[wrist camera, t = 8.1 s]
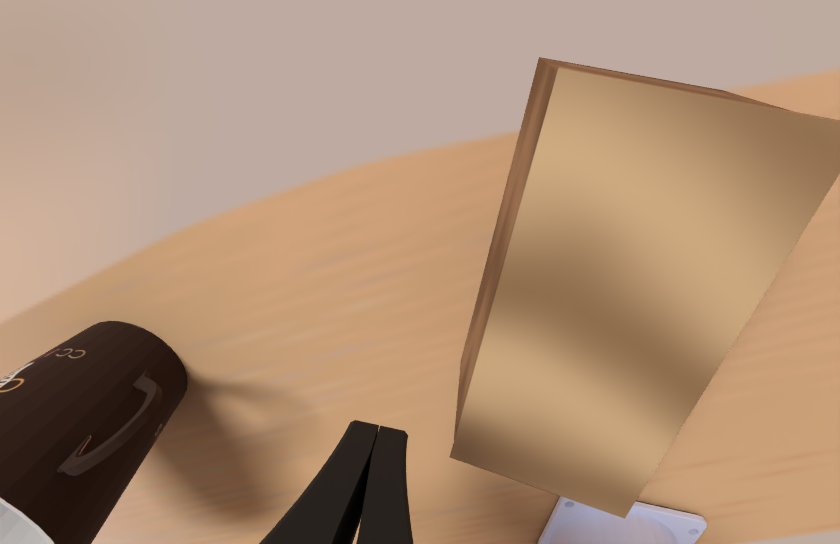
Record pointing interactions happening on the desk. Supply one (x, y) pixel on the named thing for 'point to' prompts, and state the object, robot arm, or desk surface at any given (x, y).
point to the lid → (632, 277)
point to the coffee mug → (81, 430)
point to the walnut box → (515, 191)
